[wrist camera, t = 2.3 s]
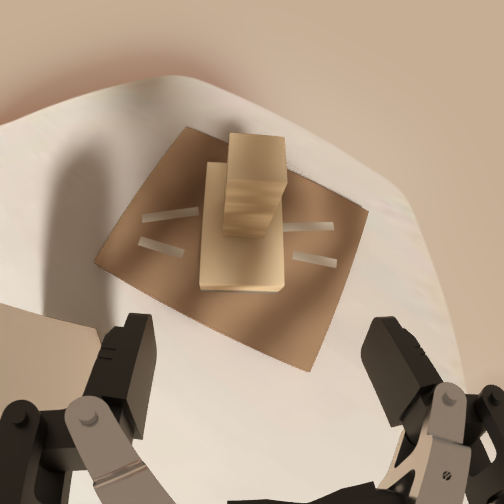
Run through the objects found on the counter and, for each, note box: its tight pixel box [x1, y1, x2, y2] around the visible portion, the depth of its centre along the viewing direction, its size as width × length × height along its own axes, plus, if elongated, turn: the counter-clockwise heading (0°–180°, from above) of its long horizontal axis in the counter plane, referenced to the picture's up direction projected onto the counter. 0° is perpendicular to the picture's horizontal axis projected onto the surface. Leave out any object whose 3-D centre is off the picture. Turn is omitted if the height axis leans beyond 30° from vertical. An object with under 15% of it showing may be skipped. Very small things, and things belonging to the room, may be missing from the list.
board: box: [94, 127, 369, 372], centre depth 26 cm, size 20×16×1 cm
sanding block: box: [199, 133, 288, 293], centre depth 20 cm, size 6×10×11 cm, turn 0°
